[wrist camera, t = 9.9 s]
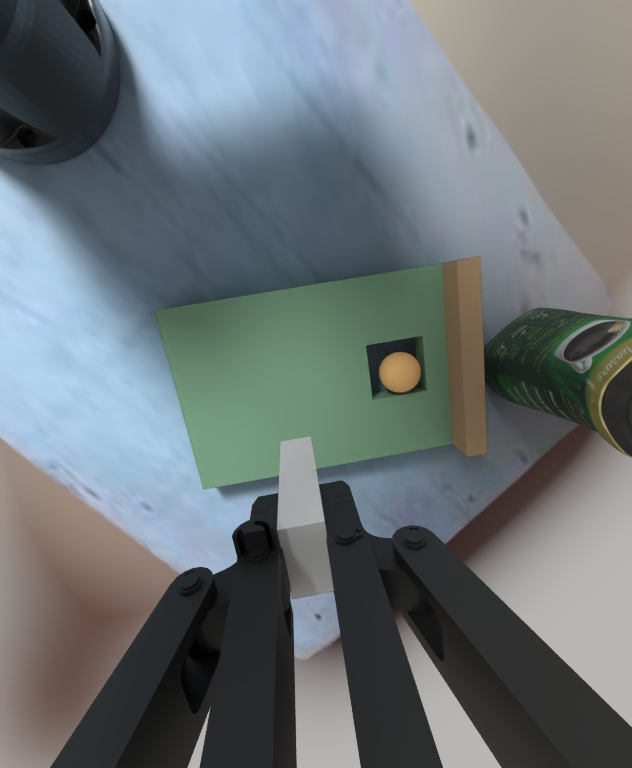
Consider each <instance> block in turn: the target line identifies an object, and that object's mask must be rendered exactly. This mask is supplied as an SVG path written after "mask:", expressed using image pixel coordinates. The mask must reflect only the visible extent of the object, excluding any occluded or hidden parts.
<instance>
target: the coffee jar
mask: <svg viewBox="0 0 632 768" xmlns="http://www.w3.org/2000/svg"><path fill="white" fill-rule="evenodd" d="M484 373H485V379H486V380H487V382H488V383H489V385H490V386H491V387H492V388H493V390H494V391H495V392H496V393H497V394H499V395H500V396H501V397H503V398H505V399H507V400H509V401H512V402H514V403H517V404H520V405H523V406H526V407H530V408H533V409H536V410H540V411H543V412H546V413H549V414H553V415H556V416H559V417H562V418H564V419H567V420H570V421H573V422H576V423H579V424H581V425H584V426H586V427H588V428H591V429H593V430H595V431H597V432H598V433H599V434H600V435H601V436H602V437H603V438H604V439H605V440H606V441H607V442H608V443H609V444H611V445H612V446H613V447H614V448H616V449H617V450H619V451H620V452H622V453H623V454H625V455H627V456H629V457H632V319H629V318H618V317H610V316H601V315H593V314H586V313H579V312H573V311H568V310H561V309H551V308H537V309H533V310H531V311H529V312H527V313H525V314H524V315H522V316H520V317H519V318H518V319H516V320H515V321H513V322H512V323H511V324H509V325H508V326H507V327H506V328H505V329H503V330H502V331H501V332H500V333H499V334H498V335H497V336H496V337H495V338H494V339H493V340H492V341H491V342H490V343H489V344H488V345H487V346H486V348H485V349H484Z"/></svg>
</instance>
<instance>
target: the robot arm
mask: <svg viewBox="0 0 632 768" xmlns="http://www.w3.org/2000/svg"><path fill="white" fill-rule="evenodd" d="M119 82H120V69H119V59H118V52H117V47H116V43H115V39H114V36H113V33H112V30H111V27H110V25H109V22H108V20H107V17H106V15H105V13H104V11H103V9H102V7H101V5H100V4H99V2H98V0H0V156H3V157H5V158H8V159H11V160H15V161H19V162H24V163H30V164H50V163H57V162H61V161H64V160H67V159H70V158H72V157H75V156H77V155H79V154H80V153H82V152H83V151H85V150H86V149H88V148H89V147H90V146H91V145H92V144H93V143H94V142H95V141H96V140H97V139H98V138H99V137H100V136H101V135H102V133H103V132H104V130H105V129H106V127H107V125H108V124H109V122H110V120H111V117H112V115H113V112H114V109H115V106H116V103H117V98H118V92H119ZM232 538H233V542H234V546H235V550H236V554H237V557H238V558H237V562H236V563H235V564H233V565H232V566H231V567H229V568H227V569H225V570H223V571H221V572H218V573H216V574H214V575H213V574H212V571H210V570H209V569H208V568H204V567H197V568H192V569H190V570H188V571H185V572H183V573H182V574H181V575H179V576H178V577H177V578H176V579H175V580H174V581H173V582H172V583H171V585H170V586H169V588H168V589H167V591H166V592H165V594H164V595H163V597H162V598H161V600H160V601H159V603H158V604H157V606H156V607H155V609H154V610H153V612H152V613H151V615H150V617H149V618H148V620H147V621H146V623H145V624H144V626H143V627H142V629H141V630H140V632H139V633H138V635H137V636H136V638H135V639H134V641H133V642H132V644H131V646H130V647H129V648H128V650H127V652H126V653H125V655H124V656H123V658H122V659H121V661H120V662H119V664H118V665H117V667H116V668H115V670H114V671H113V673H112V674H111V676H110V678H109V679H108V680H107V682H106V684H105V685H104V687H103V688H102V690H101V691H100V693H99V694H98V696H97V697H96V699H95V700H94V702H93V703H92V705H91V707H90V708H89V709H88V711H87V712H86V714H85V716H84V717H83V719H82V720H81V722H80V723H79V725H78V726H77V728H76V729H75V731H74V733H73V734H72V736H71V737H70V738H69V740H68V741H67V743H66V744H65V746H64V748H63V749H62V751H61V752H60V754H59V755H58V757H57V758H56V760H55V761H54V763H53V764H52V766H51V767H50V768H187V767H188V764H189V762H190V759H191V756H192V754H193V751H194V749H195V746H196V743H197V741H198V738H199V735H200V733H201V730H202V727H203V725H204V722H205V719H206V717H207V714H208V712H209V709H210V713H209V719H208V724H207V730H206V735H205V741H204V746H203V752H202V758H201V763H200V768H297V765H296V762H297V761H296V717H295V673H294V628H293V611H292V607H291V602H290V591H291V596H292V599H297V598H302V597H307V596H312V595H317V594H322V593H327V592H332V591H334V595H335V601H336V608H337V614H338V621H339V627H340V634H341V640H342V647H343V653H344V660H345V665H346V673H347V679H348V686H349V692H350V699H351V706H352V712H353V719H354V725H355V732H356V738H357V745H358V751H359V758H360V764H361V768H443V766H442V763H441V760H440V757H439V754H438V751H437V748H436V745H435V742H434V739H433V736H432V732H431V730H430V726H429V723H428V720H427V717H426V714H425V711H424V708H423V705H422V702H421V699H420V696H419V692H418V689H417V686H416V683H415V680H414V677H413V674H412V671H411V668H410V665H409V662H408V659H407V656H406V652H405V649H404V646H403V644H402V640H401V637H400V634H399V631H398V628H397V625H396V622H395V619H394V615H393V612H392V610H395V611H401V613H402V615H403V617H404V618H405V620H406V622H407V623H408V625H409V626H410V628H411V629H412V631H413V633H414V634H415V636H416V637H417V639H418V640H419V642H420V643H421V645H422V646H423V648H424V649H425V651H426V652H427V654H428V655H429V657H430V659H431V660H432V662H433V663H434V665H435V666H436V668H437V669H438V671H439V672H440V674H441V675H442V677H443V678H444V680H445V682H446V683H447V684H448V686H449V688H450V689H451V691H452V692H453V694H454V695H455V697H456V698H457V700H458V701H459V703H460V704H461V706H462V708H463V709H464V711H465V712H466V714H467V715H468V717H469V718H470V720H471V721H472V723H473V724H474V726H475V727H476V729H477V731H478V732H479V733H480V735H481V737H482V738H483V740H484V741H485V743H486V744H487V746H488V747H489V749H490V750H491V752H492V753H493V755H494V757H495V758H496V760H497V761H498V763H499V764H500V766H501V767H502V768H632V727H631V726H630V725H629V724H628V723H627V722H626V721H625V720H624V719H623V718H622V717H621V716H619V714H617V712H616V711H614V710H613V709H612V708H611V707H610V706H609V705H608V704H607V703H606V702H605V701H604V700H603V699H602V698H601V697H600V696H599V695H598V694H597V693H596V692H595V691H594V690H593V689H592V688H591V687H590V686H589V685H588V684H587V683H586V682H585V681H584V680H583V679H582V678H581V677H580V676H579V675H578V674H577V673H576V672H575V671H574V670H573V669H572V668H571V667H570V666H568V665H567V664H566V663H565V662H564V661H563V660H562V659H561V658H560V657H559V656H558V655H557V654H556V653H555V652H554V651H553V650H552V649H551V648H550V647H549V646H548V645H547V644H546V643H545V642H544V641H543V640H542V639H541V638H540V637H539V636H538V635H537V634H536V633H535V632H534V631H533V630H532V629H531V628H530V627H529V626H528V625H527V624H525V623H524V622H523V621H522V620H521V619H520V618H519V617H518V616H517V615H516V614H515V613H514V612H513V611H512V610H511V609H510V608H509V607H508V606H507V605H506V604H505V603H504V602H503V601H502V600H501V599H500V598H499V597H498V596H497V595H495V593H494V592H493V591H492V590H491V589H490V588H489V587H488V586H486V584H485V583H484V582H483V581H482V580H480V579H479V577H477V576H476V575H475V574H474V573H473V572H472V571H471V570H470V569H469V568H468V567H467V566H466V565H465V564H464V563H463V562H462V561H461V560H460V559H459V558H458V557H457V556H456V555H455V554H454V553H453V552H452V551H451V550H450V549H449V548H448V547H447V546H446V545H445V544H444V543H443V542H442V541H441V540H440V539H439V538H438V537H437V536H436V535H435V534H434V533H432V532H431V531H429V530H428V529H427V528H424V527H420V526H406V527H402V528H400V529H399V530H397V531H396V532H395V533H394V535H393V538H381V537H376V536H373V535H371V534H369V533H368V532H366V531H365V530H364V528H363V527H362V524H361V521H360V518H359V515H358V512H357V509H356V506H355V502H354V499H353V496H352V493H351V490H350V487H349V486H348V485H347V484H346V483H345V482H344V481H336V482H331V483H325V484H320V485H319V481H318V475H317V469H316V464H315V458H314V452H313V447H312V441H311V436H310V437H304V438H299V439H293V440H288V441H282V442H281V445H280V469H279V493H276V494H271V495H265V496H260V497H258V498H257V499H256V501H255V502H254V503H253V505H252V510H251V516H250V520H249V521H246V522H245V523H243V524H241V525H240V526H239V527H238V528H237V529H236V530H235V531H234V533H233V535H232ZM210 706H211V708H210Z"/></svg>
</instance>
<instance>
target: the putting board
mask: <svg viewBox="0 0 632 768" xmlns="http://www.w3.org/2000/svg"><path fill="white" fill-rule="evenodd" d="M154 311H155V315H156V318H157V322H158V326H159V329H160V333H161V337H162V340H163V344H164V348H165V351H166V355H167V359H168V362H169V366H170V370H171V373H172V377H173V381H174V384H175V388H176V391H177V395H178V399H179V402H180V406H181V410H182V413H183V417H184V421H185V424H186V428H187V432H188V435H189V439H190V443H191V446H192V450H193V454H194V457H195V461H196V465H197V468H198V472H199V476H200V479H201V483H202V487H203V490H204V489H210V488H215V487H221V486H226V485H232V484H237V483H243V482H248V481H254V480H259V479H265V478H270V477H276V476H279V469H280V445H281V442H282V441H288V440H293V439H299V438H304V437H310V436H311V441H312V447H313V452H314V458H315V464H316V469H319V468H325V467H330V466H336V465H341V464H347V463H352V462H358V461H363V460H369V459H374V458H380V457H385V456H391V455H396V454H402V453H407V452H413V451H418V450H424V449H429V448H434V447H440V446H445V445H451V444H453V445H454V446H455V447H456V448H458V449H459V450H460V451H461V452H462V453H463V454H464V455H465V456H466V457H470V456H476V455H481V454H487V430H486V401H485V373H484V344H483V316H482V287H481V258H480V256H479V257H473V258H467V259H461V260H455V261H451V262H446V263H441V264H435V265H429V266H423V267H416V268H410V269H404V270H398V271H392V272H386V273H380V274H374V275H368V276H361V277H355V278H349V279H343V280H337V281H331V282H325V283H319V284H313V285H306V286H300V287H294V288H288V289H282V290H276V291H270V292H264V293H258V294H251V295H245V296H239V297H233V298H227V299H221V300H215V301H209V302H203V303H197V304H190V305H184V306H178V307H172V308H166V309H160V310H154ZM413 337H414V344H415V356H416V360H417V361H418V363H419V365H420V368H421V376H420V379H419V381H418V385H416V386H415V387H414V388H412V389H411V390H409V391H406V392H394V391H391V390H384V391H378V392H372V391H371V382H370V374H369V366H368V358H367V350H366V345H372V344H377V343H383V342H389V341H395V340H401V339H407V338H413Z"/></svg>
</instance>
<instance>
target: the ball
mask: <svg viewBox="0 0 632 768" xmlns="http://www.w3.org/2000/svg"><path fill="white" fill-rule="evenodd" d="M379 376H380V380H381V382H382V383H383V385H384V386H385V387H386V388H387V389H389V390H391V391H394V392H406V391H409V390H411V389H412V388H414V387H415V386H416V384H417V383H418V381H419V379H420V376H421V368H420V365H419V363H418V361H417V360H416V358H415V357H413V356H412V355H410V354H408V353H405V352H395V353H392V354H390V355H388V356H387V357H386V358H385V359H384V360H383V361H382V363H381V365H380V368H379Z"/></svg>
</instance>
